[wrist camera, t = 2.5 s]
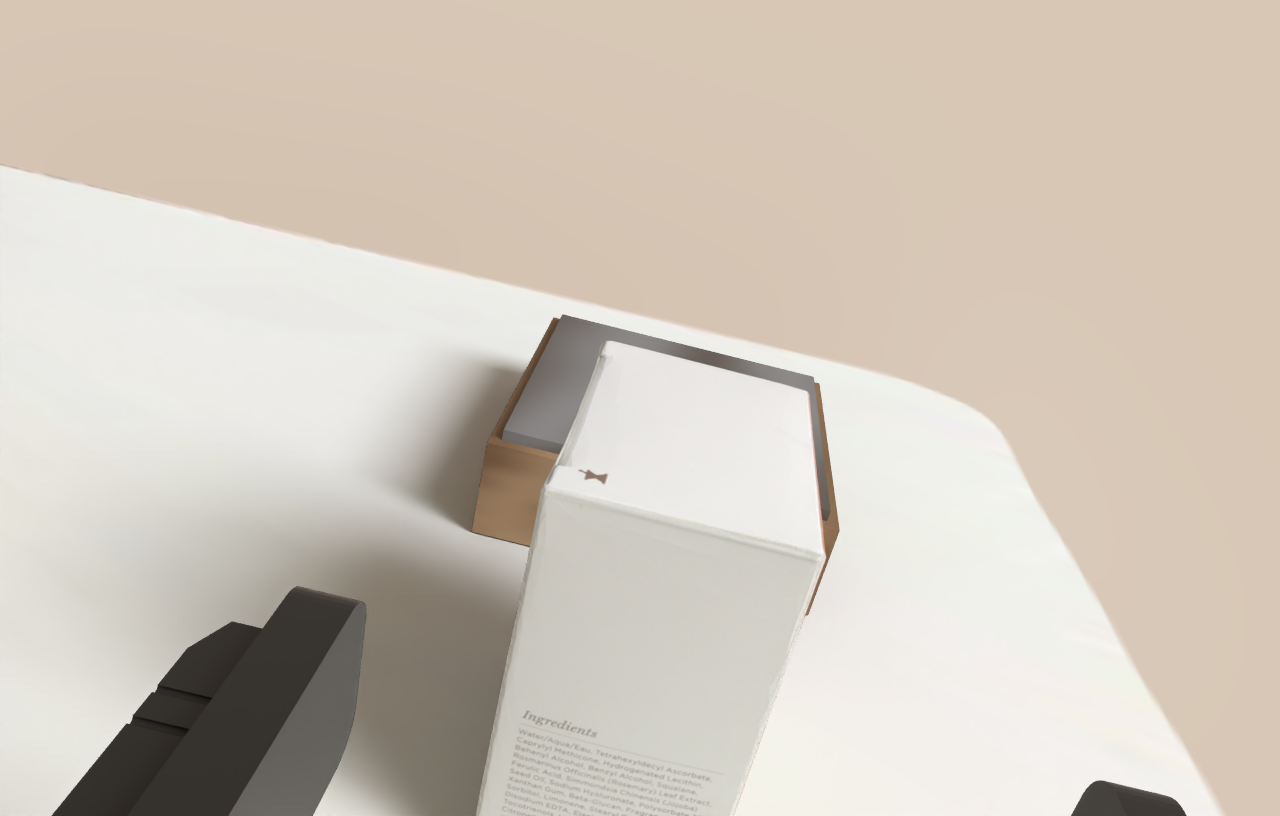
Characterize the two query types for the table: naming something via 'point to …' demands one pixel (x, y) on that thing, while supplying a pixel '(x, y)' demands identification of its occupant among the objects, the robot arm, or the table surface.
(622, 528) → the small box
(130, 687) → the table surface
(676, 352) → the plinth
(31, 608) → the table surface
